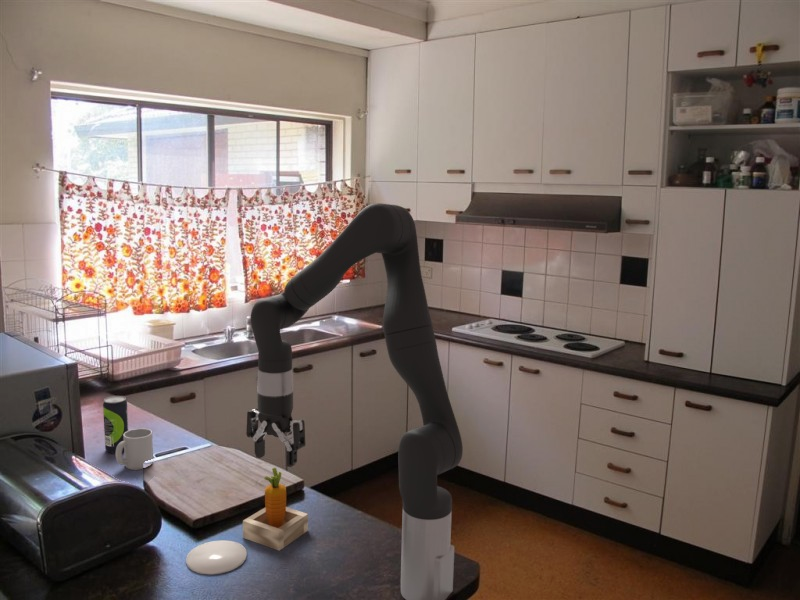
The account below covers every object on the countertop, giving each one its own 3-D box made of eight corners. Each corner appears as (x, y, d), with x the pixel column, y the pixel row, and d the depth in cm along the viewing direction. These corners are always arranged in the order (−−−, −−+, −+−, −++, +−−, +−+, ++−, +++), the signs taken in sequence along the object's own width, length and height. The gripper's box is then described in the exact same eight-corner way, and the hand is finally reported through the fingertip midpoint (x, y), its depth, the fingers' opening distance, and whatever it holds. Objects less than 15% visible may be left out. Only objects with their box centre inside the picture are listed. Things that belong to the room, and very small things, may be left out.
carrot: (282, 541, 151) (282, 476, 149) (260, 538, 152) (260, 473, 150) (290, 530, 156) (290, 466, 154) (269, 527, 157) (268, 464, 155)
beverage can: (129, 452, 197) (127, 401, 194) (105, 455, 194) (102, 403, 192) (128, 444, 202) (126, 394, 200) (105, 447, 200) (102, 396, 197)
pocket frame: (307, 530, 156) (307, 513, 155) (279, 550, 148) (279, 533, 147) (272, 519, 161) (272, 502, 160) (243, 537, 152) (242, 520, 152)
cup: (158, 464, 189) (157, 433, 188) (123, 475, 182) (121, 443, 180) (144, 457, 194) (143, 426, 192) (109, 467, 186) (108, 436, 185)
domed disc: (258, 553, 146) (258, 550, 146) (217, 581, 136) (217, 578, 136) (216, 537, 152) (216, 535, 152) (173, 563, 142) (173, 560, 142)
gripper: (313, 390, 148) (312, 462, 151) (261, 379, 155) (261, 448, 158) (290, 400, 142) (290, 475, 145) (237, 387, 149) (238, 459, 152)
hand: (275, 461), depth 151 cm, fingers open, 8 cm apart
